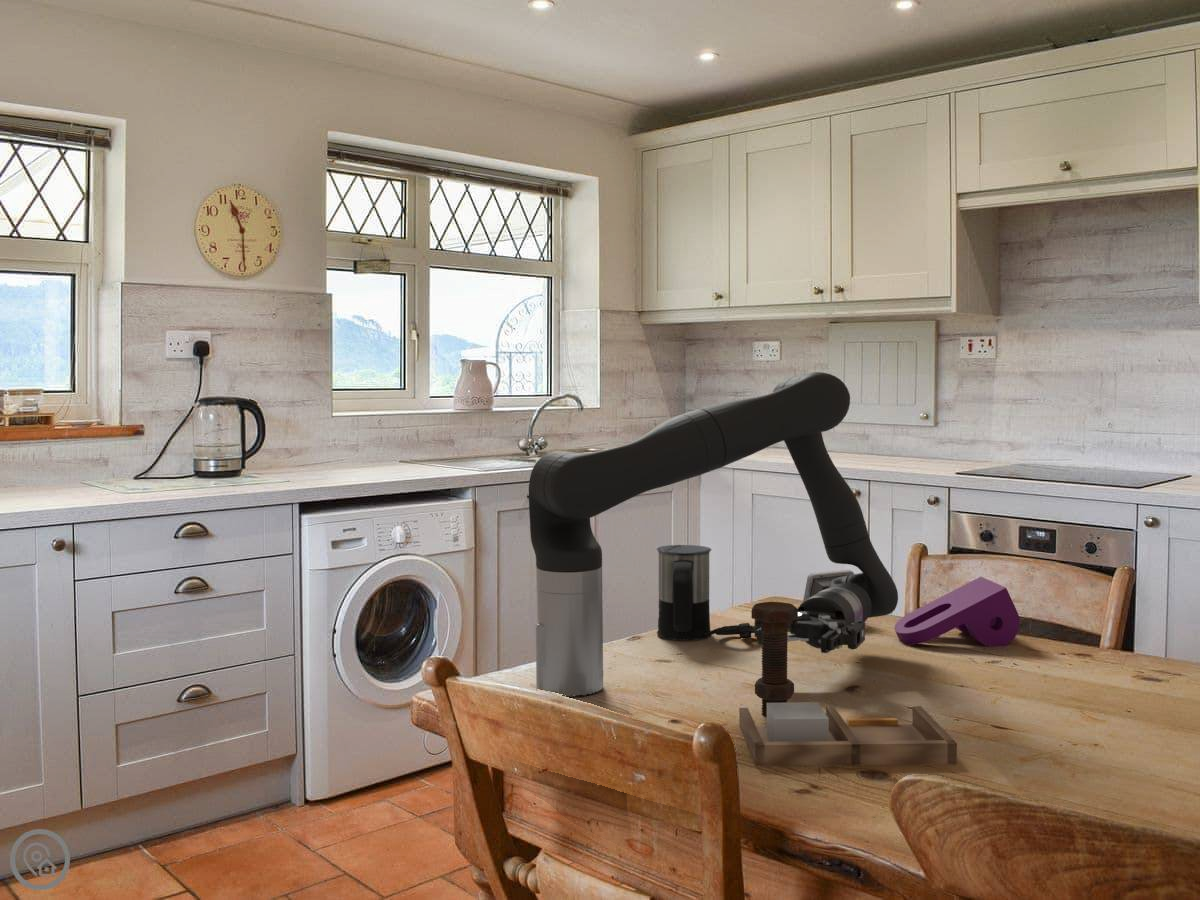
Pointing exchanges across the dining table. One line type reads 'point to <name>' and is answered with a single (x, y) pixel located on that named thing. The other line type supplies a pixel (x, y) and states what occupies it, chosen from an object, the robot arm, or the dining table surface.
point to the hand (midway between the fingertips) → (791, 641)
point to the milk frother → (688, 595)
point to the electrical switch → (822, 581)
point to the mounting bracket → (964, 615)
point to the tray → (856, 742)
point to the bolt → (774, 652)
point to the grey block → (796, 722)
